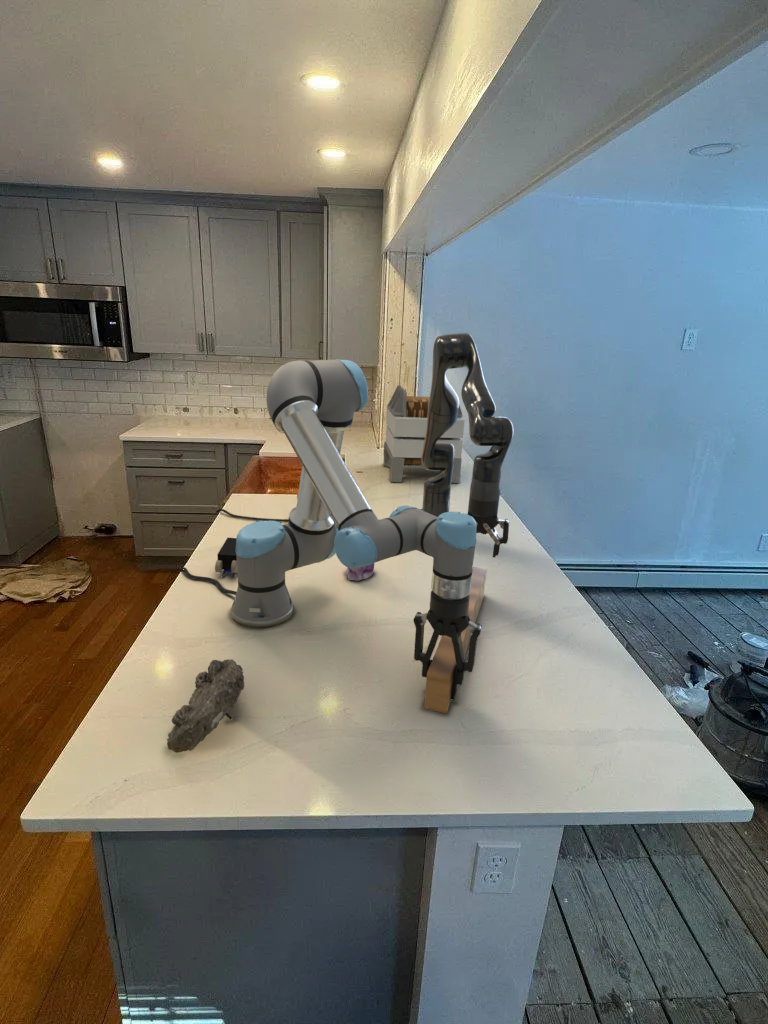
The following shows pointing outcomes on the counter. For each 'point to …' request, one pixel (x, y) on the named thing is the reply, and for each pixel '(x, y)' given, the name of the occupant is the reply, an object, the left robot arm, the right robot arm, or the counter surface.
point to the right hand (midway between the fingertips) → (478, 553)
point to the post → (451, 652)
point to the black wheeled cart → (227, 558)
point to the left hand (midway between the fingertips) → (441, 692)
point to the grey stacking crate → (414, 434)
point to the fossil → (206, 705)
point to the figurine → (360, 572)
